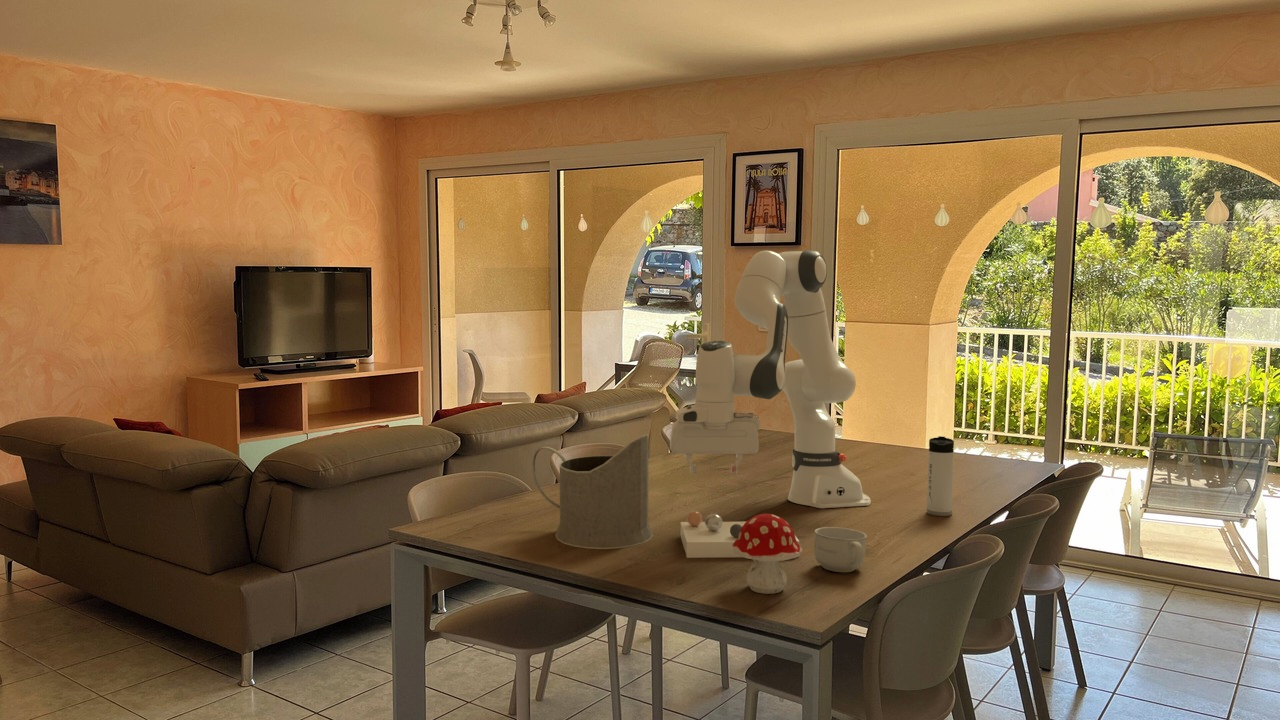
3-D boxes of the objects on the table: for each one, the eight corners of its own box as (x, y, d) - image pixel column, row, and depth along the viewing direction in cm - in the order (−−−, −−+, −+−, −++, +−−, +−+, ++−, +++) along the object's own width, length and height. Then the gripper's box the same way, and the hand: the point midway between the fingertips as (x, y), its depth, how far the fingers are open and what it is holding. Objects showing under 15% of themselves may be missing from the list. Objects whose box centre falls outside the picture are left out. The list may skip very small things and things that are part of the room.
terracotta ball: (701, 523, 218) (701, 509, 218) (702, 527, 214) (702, 513, 214) (686, 523, 218) (686, 509, 217) (687, 527, 214) (687, 513, 214)
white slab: (784, 535, 221) (784, 521, 220) (799, 556, 204) (799, 541, 203) (680, 536, 220) (680, 522, 219) (686, 557, 203) (686, 542, 202)
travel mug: (951, 511, 244) (954, 436, 243) (951, 517, 238) (954, 441, 236) (927, 509, 246) (929, 435, 245) (926, 515, 240) (928, 439, 238)
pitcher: (625, 554, 206) (625, 443, 204) (507, 536, 219) (506, 433, 217) (667, 529, 226) (668, 428, 224) (557, 514, 240) (556, 420, 238)
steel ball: (721, 528, 214) (721, 511, 213) (723, 533, 210) (723, 516, 209) (704, 528, 214) (704, 511, 213) (706, 533, 210) (706, 516, 209)
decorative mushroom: (776, 606, 173) (777, 528, 171) (717, 589, 182) (717, 515, 181) (815, 588, 183) (816, 514, 182) (757, 573, 192) (758, 502, 191)
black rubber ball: (742, 535, 208) (742, 522, 208) (744, 539, 205) (744, 526, 205) (729, 535, 208) (729, 522, 208) (730, 539, 205) (730, 526, 205)
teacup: (808, 561, 200) (808, 525, 200) (856, 560, 201) (857, 524, 201) (826, 582, 187) (827, 543, 186) (878, 580, 188) (879, 542, 187)
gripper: (757, 410, 213) (756, 469, 214) (669, 410, 212) (669, 469, 213) (762, 414, 207) (761, 475, 208) (671, 414, 206) (670, 475, 207)
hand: (713, 472), depth 211 cm, fingers open, 8 cm apart
